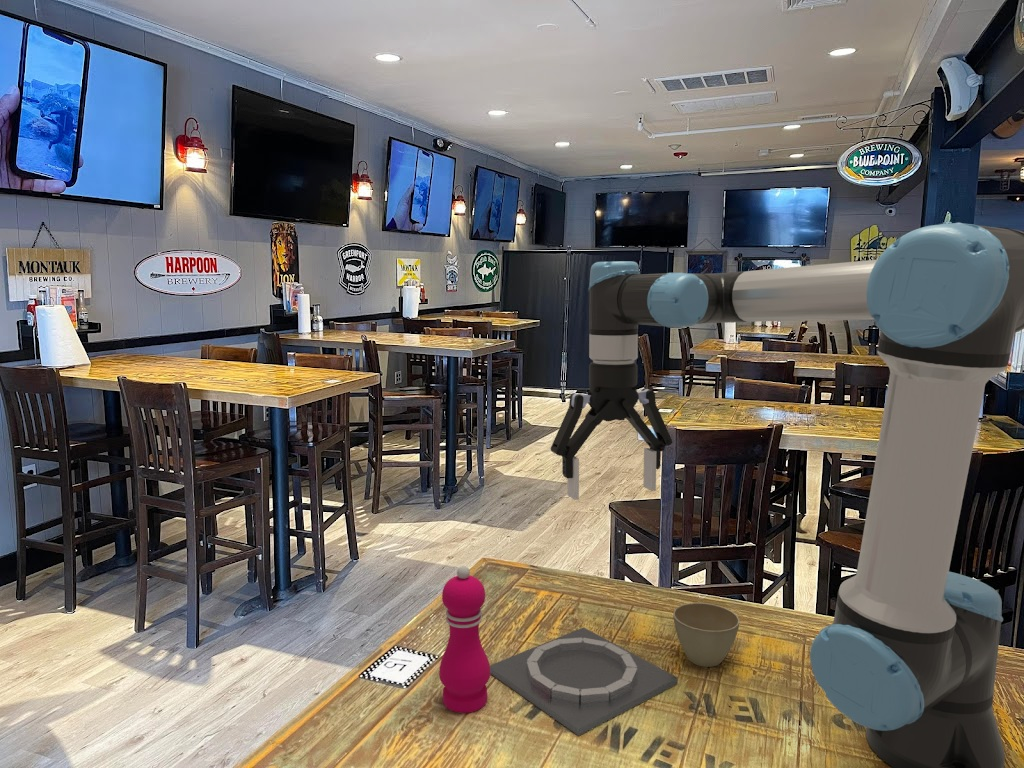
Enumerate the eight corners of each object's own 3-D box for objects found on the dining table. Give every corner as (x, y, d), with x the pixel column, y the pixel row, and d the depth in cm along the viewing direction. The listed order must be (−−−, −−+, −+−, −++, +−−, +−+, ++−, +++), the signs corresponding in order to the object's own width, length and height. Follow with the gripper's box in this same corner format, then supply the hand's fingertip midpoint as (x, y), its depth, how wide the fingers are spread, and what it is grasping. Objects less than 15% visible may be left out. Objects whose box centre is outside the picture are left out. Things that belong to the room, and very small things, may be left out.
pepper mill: (454, 721, 99) (452, 581, 96) (431, 696, 105) (428, 563, 102) (500, 705, 103) (499, 569, 100) (475, 681, 109) (473, 553, 106)
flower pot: (740, 679, 109) (742, 634, 108) (672, 672, 111) (673, 627, 110) (734, 646, 119) (736, 604, 118) (671, 640, 121) (673, 599, 120)
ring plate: (677, 683, 108) (677, 669, 108) (578, 736, 96) (578, 720, 96) (583, 632, 124) (583, 620, 123) (488, 672, 111) (488, 658, 111)
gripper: (670, 355, 122) (667, 479, 125) (530, 362, 114) (531, 494, 117) (695, 360, 115) (692, 491, 118) (548, 367, 107) (548, 508, 110)
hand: (612, 493), depth 117 cm, fingers open, 13 cm apart
